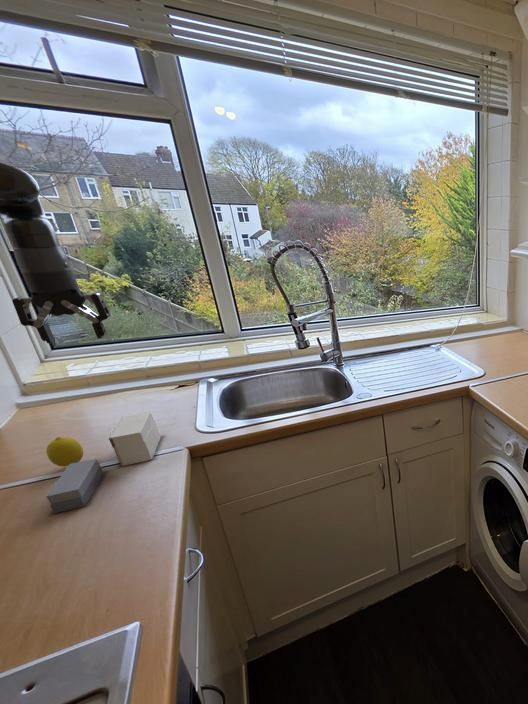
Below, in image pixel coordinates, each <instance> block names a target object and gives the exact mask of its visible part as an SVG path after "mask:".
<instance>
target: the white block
mask: <svg viewBox="0 0 528 704" xmlns="http://www.w3.org/2000/svg"><path fill="white" fill-rule="evenodd" d="M161 438H162V436H161V434H160V431H159V428H158V426H157V423H156V421H155V420H154V421H153V423H152V425H151V427H150V430H149V432H148V434H147V436H146V438H145V440H144V442H140V443H135V444H129V445H124V446H119V447H114V448H113V450H114V452H115V455H116V457H117V460H118V462H119V464H120V466H121V467H124V466H128V465H129V466H130V465H134V464H138V463H143V462H148V461H152V459H153V458H154V455H155V452H156V450H157V448H158V446H159V444H160V440H161Z"/></svg>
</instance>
